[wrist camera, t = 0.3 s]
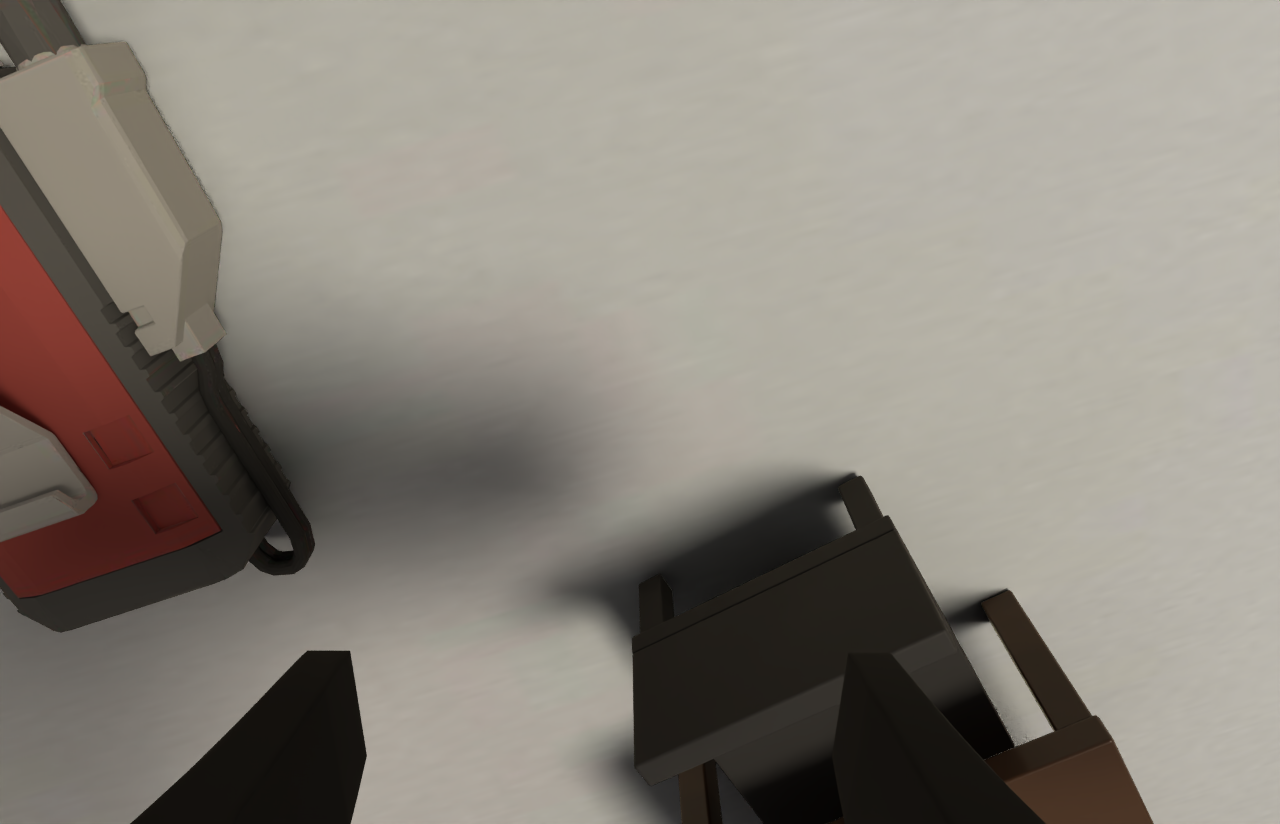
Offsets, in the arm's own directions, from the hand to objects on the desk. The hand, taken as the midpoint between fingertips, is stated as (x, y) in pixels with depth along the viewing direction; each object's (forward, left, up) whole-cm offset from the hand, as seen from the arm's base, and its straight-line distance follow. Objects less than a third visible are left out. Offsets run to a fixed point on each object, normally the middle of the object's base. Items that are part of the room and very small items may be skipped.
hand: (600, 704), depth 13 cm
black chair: (-7, -6, -10) cm, 13 cm away
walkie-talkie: (+5, +13, -10) cm, 17 cm away
